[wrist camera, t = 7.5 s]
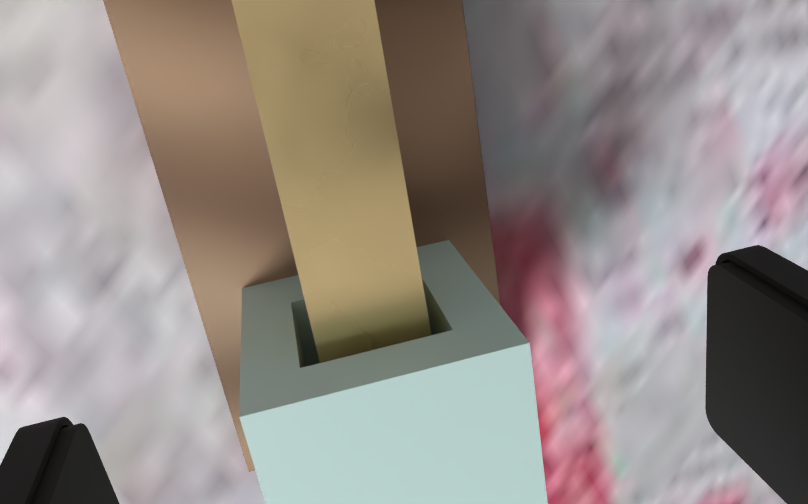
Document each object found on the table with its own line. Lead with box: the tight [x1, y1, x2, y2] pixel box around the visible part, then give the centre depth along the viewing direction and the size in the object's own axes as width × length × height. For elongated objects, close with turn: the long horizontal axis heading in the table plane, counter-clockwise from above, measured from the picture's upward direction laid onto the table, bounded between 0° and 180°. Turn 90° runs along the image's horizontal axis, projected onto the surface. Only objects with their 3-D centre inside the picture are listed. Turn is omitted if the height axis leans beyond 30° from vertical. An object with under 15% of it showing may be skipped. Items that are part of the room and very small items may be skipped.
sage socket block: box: [239, 240, 548, 504], centre depth 21 cm, size 5×7×8 cm
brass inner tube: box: [232, 0, 431, 363], centre depth 17 cm, size 20×3×3 cm, turn 9°
